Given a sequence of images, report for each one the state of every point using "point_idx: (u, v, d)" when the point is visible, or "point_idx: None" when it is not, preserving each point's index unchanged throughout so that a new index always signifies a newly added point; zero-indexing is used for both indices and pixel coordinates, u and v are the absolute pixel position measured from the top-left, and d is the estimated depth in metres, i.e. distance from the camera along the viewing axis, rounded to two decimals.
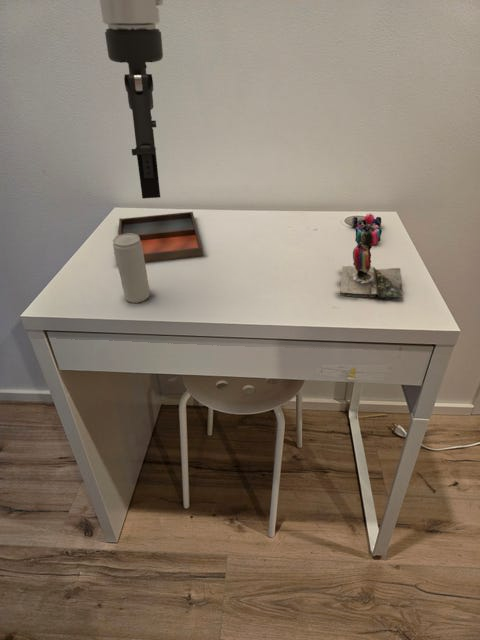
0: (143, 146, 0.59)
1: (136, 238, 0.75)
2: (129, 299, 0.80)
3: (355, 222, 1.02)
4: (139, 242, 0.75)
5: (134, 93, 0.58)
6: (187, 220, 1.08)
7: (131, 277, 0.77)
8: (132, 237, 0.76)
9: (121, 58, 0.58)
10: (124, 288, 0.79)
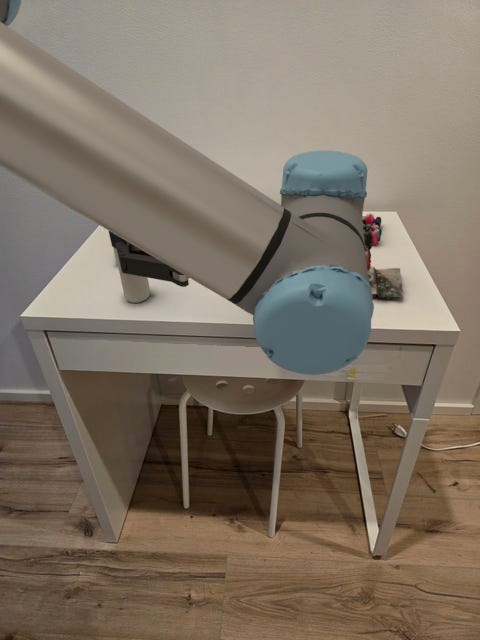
0: (123, 263, 0.55)
1: None
2: (129, 299, 0.80)
3: None
4: None
5: (169, 269, 0.53)
6: None
7: (131, 277, 0.77)
8: None
9: None
10: (124, 288, 0.79)
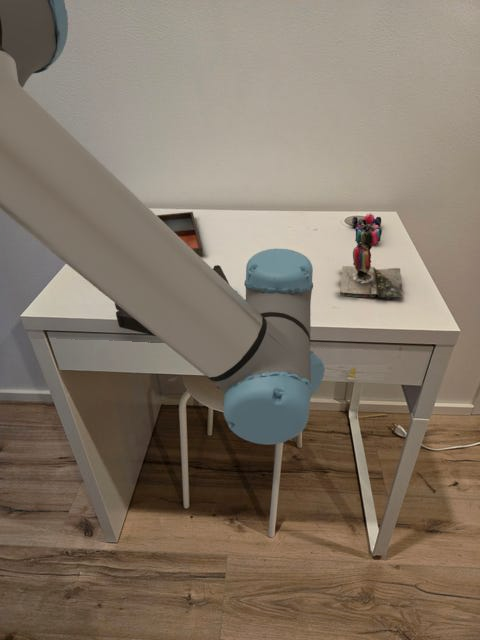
0: (120, 320, 0.65)
1: None
2: None
3: (355, 222, 1.02)
4: None
5: None
6: (187, 220, 1.08)
7: None
8: None
9: None
10: None
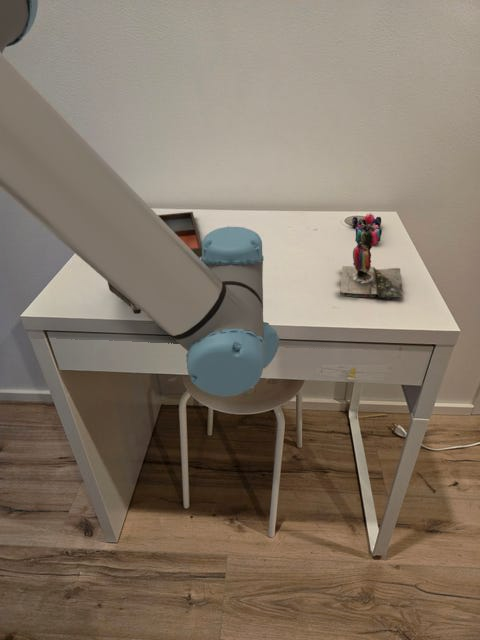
0: (110, 283, 0.73)
1: None
2: None
3: (355, 222, 1.02)
4: None
5: None
6: (187, 220, 1.08)
7: None
8: None
9: None
10: None
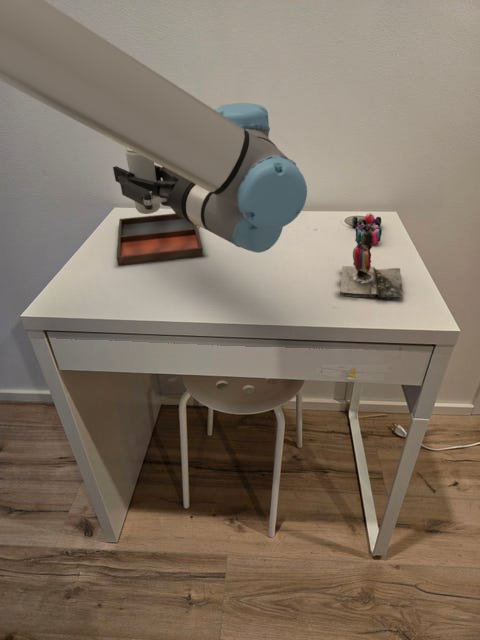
0: None
1: None
2: (140, 209, 0.84)
3: (355, 222, 1.02)
4: None
5: (141, 195, 0.73)
6: None
7: None
8: None
9: (173, 191, 0.71)
10: None
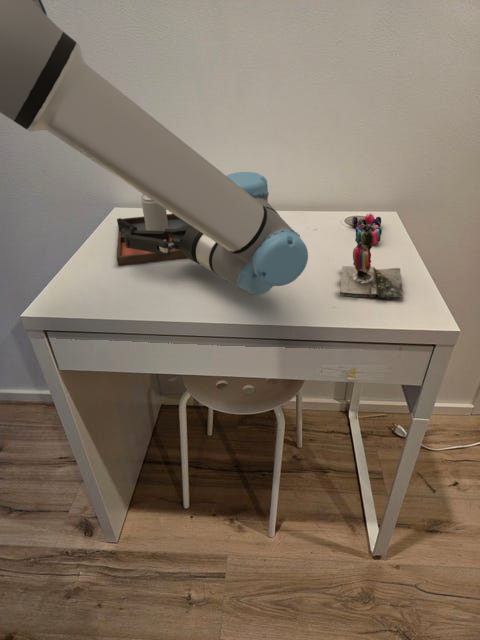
0: (127, 241, 0.84)
1: None
2: None
3: (355, 222, 1.02)
4: None
5: (157, 244, 0.82)
6: None
7: (156, 228, 0.91)
8: None
9: (184, 238, 0.81)
10: None
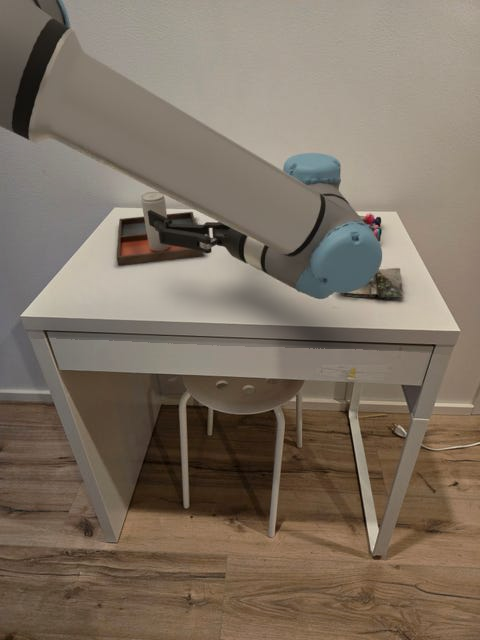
0: (162, 236, 0.73)
1: (160, 195, 0.90)
2: (153, 248, 0.94)
3: None
4: (163, 198, 0.90)
5: (197, 240, 0.71)
6: (187, 220, 1.08)
7: None
8: (157, 194, 0.90)
9: (229, 232, 0.70)
10: (149, 239, 0.93)
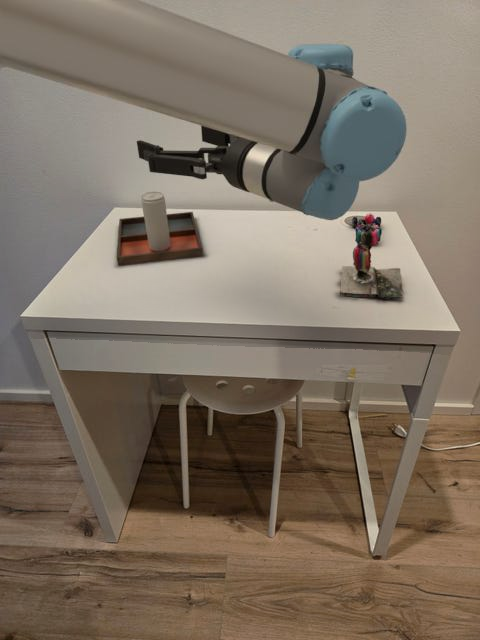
0: (151, 162, 0.66)
1: (160, 195, 0.90)
2: (153, 248, 0.94)
3: (355, 222, 1.02)
4: (163, 198, 0.90)
5: (191, 164, 0.64)
6: (187, 220, 1.08)
7: (156, 228, 0.91)
8: (157, 194, 0.90)
9: (226, 154, 0.63)
10: (149, 239, 0.93)
